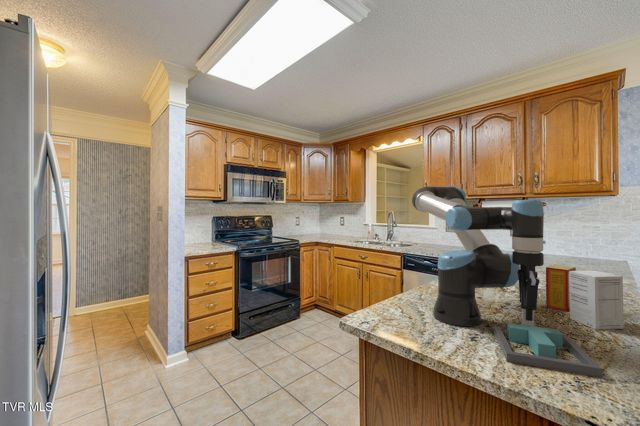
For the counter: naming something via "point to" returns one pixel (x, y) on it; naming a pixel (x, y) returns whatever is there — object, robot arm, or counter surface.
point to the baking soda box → (558, 287)
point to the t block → (536, 338)
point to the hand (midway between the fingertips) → (527, 329)
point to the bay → (584, 367)
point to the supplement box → (596, 299)
